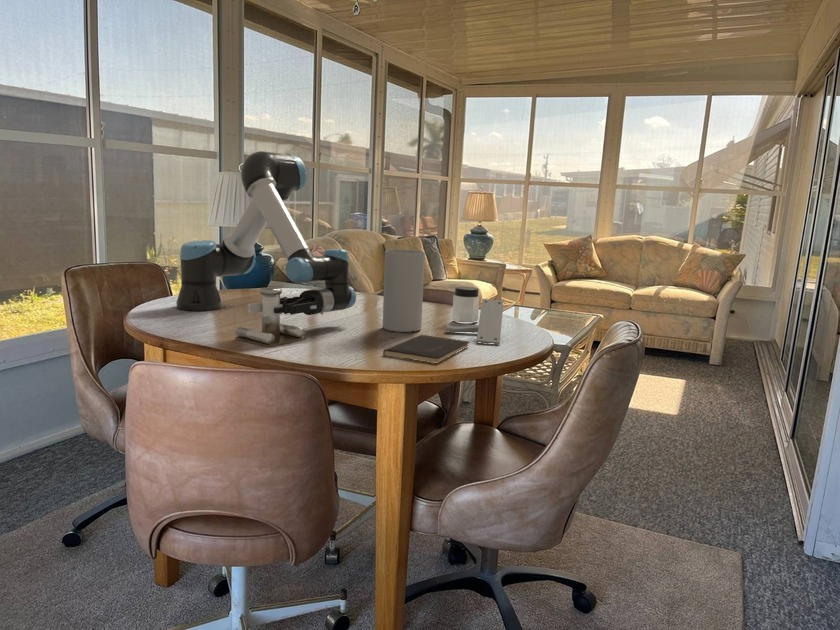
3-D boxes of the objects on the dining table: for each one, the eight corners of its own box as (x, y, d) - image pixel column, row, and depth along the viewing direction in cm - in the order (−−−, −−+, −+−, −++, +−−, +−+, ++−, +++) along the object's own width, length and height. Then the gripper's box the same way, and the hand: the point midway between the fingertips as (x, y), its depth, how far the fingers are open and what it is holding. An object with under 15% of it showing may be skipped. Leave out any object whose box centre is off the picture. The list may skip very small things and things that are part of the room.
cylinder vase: (384, 332, 197) (387, 252, 192) (380, 324, 209) (383, 249, 205) (424, 333, 199) (427, 253, 195) (418, 325, 211) (421, 250, 207)
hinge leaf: (234, 339, 179) (234, 327, 179) (273, 331, 191) (273, 320, 190) (268, 347, 171) (268, 335, 171) (306, 339, 183) (306, 327, 182)
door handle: (497, 362, 191) (501, 319, 206) (499, 342, 186) (503, 300, 201) (440, 356, 194) (448, 314, 209) (440, 336, 188) (448, 295, 203)
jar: (476, 320, 225) (478, 287, 223) (478, 324, 217) (481, 290, 215) (451, 319, 225) (453, 285, 222) (452, 323, 217) (454, 289, 214)
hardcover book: (469, 349, 183) (469, 341, 182) (437, 366, 162) (438, 357, 162) (419, 341, 189) (419, 334, 189) (382, 357, 169) (383, 349, 168)
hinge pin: (255, 337, 180) (255, 288, 178) (271, 334, 185) (271, 286, 183) (269, 340, 177) (269, 291, 175) (285, 337, 182) (286, 289, 179)
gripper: (337, 317, 190) (279, 328, 171) (294, 309, 200) (234, 318, 181) (338, 293, 188) (279, 301, 170) (294, 286, 199) (234, 292, 180)
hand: (256, 310), depth 175 cm, fingers open, 5 cm apart
